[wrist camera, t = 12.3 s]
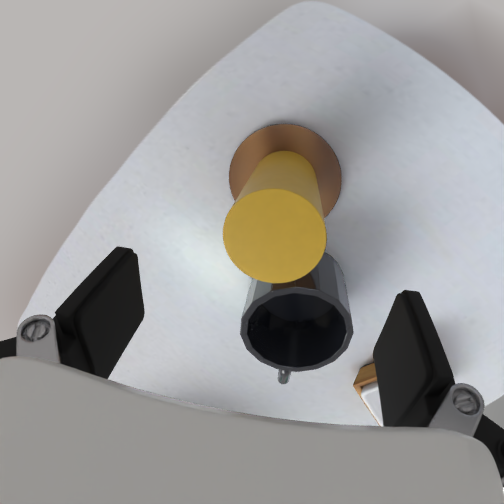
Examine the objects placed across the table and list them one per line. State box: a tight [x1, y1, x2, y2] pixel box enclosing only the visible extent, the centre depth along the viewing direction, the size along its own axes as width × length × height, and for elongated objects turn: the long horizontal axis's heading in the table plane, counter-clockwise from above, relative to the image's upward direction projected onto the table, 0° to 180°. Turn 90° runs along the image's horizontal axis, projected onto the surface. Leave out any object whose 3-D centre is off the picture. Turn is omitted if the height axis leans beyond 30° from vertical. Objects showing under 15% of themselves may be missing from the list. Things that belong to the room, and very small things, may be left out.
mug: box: [240, 252, 353, 384], centre depth 31 cm, size 13×10×8 cm
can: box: [223, 151, 327, 283], centre depth 22 cm, size 6×6×12 cm
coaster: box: [229, 124, 342, 218], centre depth 28 cm, size 10×10×1 cm
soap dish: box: [353, 363, 383, 426], centre depth 36 cm, size 12×10×5 cm
